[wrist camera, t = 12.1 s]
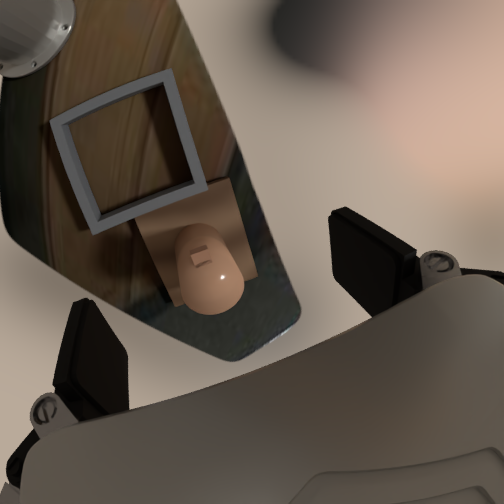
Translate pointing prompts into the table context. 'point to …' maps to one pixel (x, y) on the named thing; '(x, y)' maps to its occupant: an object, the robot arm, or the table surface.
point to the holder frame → (77, 173)
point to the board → (192, 212)
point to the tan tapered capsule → (206, 270)
